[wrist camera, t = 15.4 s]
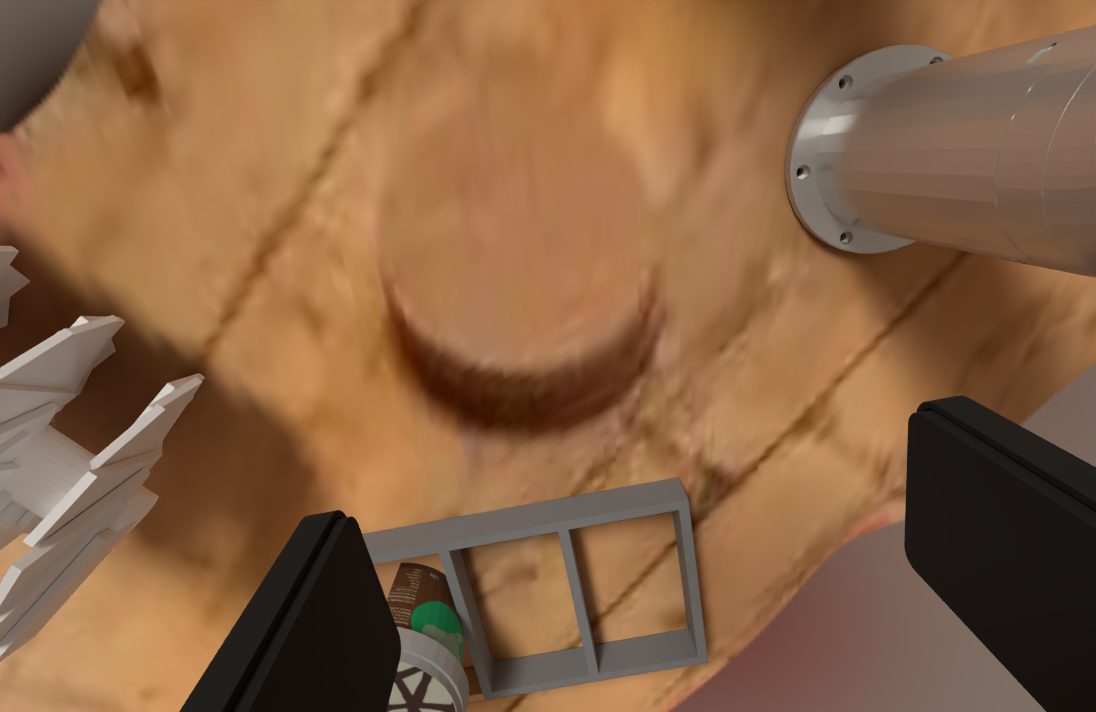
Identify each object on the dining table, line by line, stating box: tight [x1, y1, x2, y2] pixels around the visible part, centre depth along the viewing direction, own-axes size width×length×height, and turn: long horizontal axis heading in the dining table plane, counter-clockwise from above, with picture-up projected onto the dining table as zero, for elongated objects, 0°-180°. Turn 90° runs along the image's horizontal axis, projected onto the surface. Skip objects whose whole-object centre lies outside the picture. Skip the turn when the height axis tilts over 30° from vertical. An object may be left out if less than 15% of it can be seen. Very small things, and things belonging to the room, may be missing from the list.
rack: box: [362, 478, 708, 703], centre depth 46 cm, size 29×17×3 cm, turn 101°
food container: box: [386, 562, 469, 712], centre depth 43 cm, size 12×6×10 cm, turn 1°
